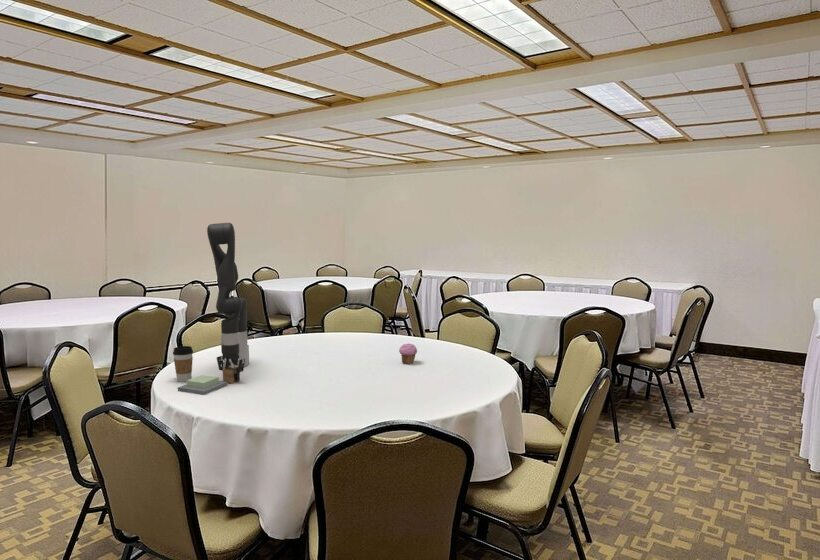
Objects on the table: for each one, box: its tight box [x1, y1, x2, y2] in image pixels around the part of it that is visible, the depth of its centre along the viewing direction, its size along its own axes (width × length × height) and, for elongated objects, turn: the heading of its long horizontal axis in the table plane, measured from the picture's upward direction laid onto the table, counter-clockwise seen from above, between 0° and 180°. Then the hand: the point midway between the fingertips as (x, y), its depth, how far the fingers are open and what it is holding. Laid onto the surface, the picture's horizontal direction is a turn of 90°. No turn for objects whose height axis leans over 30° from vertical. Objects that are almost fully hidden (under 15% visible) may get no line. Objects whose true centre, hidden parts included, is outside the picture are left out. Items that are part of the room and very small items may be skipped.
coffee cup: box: [172, 345, 194, 383], centre depth 245 cm, size 8×8×15 cm
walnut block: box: [222, 367, 241, 385], centre depth 243 cm, size 5×5×6 cm
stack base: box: [177, 374, 229, 396], centre depth 234 cm, size 14×14×4 cm
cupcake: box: [398, 343, 418, 365], centre depth 275 cm, size 9×9×10 cm
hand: (231, 380), depth 243 cm, fingers closed on walnut block, 5 cm apart
